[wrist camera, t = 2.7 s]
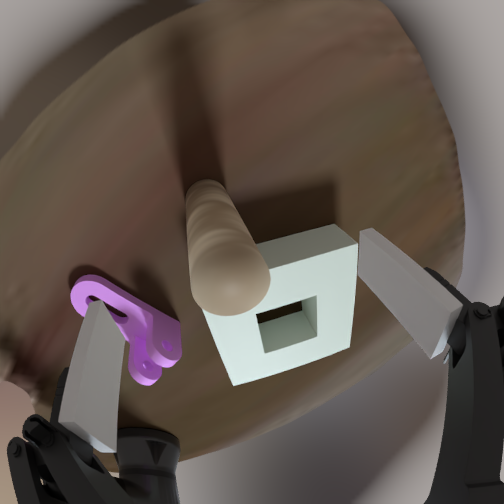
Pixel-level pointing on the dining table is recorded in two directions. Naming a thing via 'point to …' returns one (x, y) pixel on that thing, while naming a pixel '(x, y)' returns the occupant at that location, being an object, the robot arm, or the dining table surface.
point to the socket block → (289, 291)
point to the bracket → (135, 327)
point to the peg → (222, 253)
